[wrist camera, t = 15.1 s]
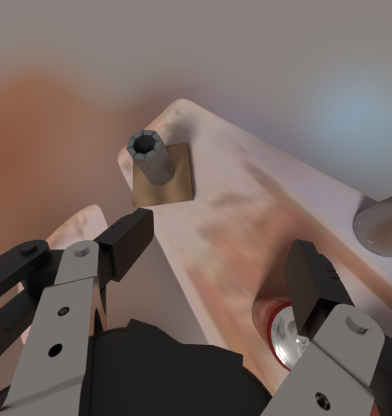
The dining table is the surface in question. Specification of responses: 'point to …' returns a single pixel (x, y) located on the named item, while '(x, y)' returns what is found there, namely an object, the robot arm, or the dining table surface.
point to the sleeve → (151, 157)
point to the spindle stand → (173, 190)
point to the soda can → (279, 328)
